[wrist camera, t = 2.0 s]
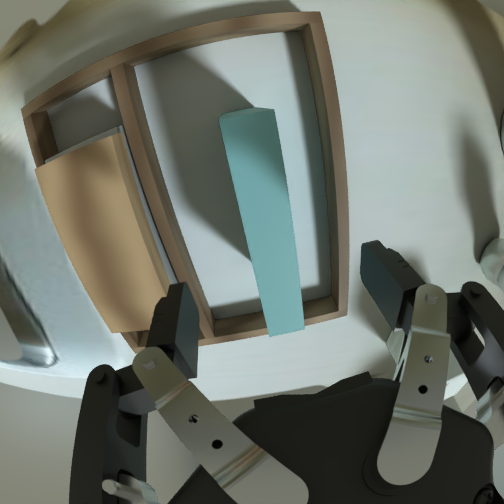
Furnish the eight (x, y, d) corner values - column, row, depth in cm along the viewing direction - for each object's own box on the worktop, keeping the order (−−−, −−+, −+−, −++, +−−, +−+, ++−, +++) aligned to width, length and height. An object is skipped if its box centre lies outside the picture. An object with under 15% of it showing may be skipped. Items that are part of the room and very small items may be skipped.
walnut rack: (310, 20, 15) (320, 11, 12) (339, 300, 29) (347, 315, 27) (37, 105, 15) (21, 109, 13) (139, 337, 30) (135, 353, 28)
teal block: (254, 107, 19) (273, 109, 11) (282, 259, 26) (304, 329, 18) (222, 113, 19) (218, 120, 11) (256, 265, 26) (269, 336, 18)
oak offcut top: (122, 131, 16) (111, 135, 14) (181, 310, 24) (179, 326, 22) (48, 162, 16) (34, 169, 14) (117, 318, 24) (111, 333, 22)
